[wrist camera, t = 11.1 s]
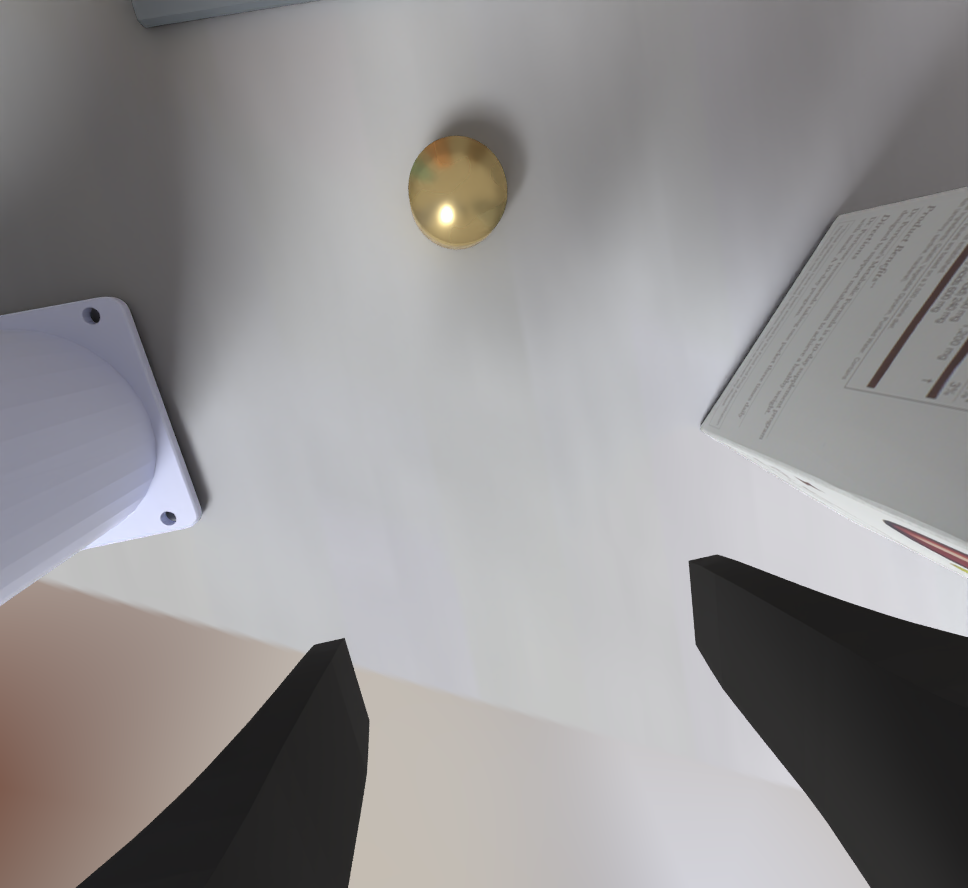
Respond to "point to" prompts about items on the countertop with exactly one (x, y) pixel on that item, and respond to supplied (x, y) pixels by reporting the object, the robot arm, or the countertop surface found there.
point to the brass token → (457, 192)
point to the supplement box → (869, 378)
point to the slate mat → (197, 9)
